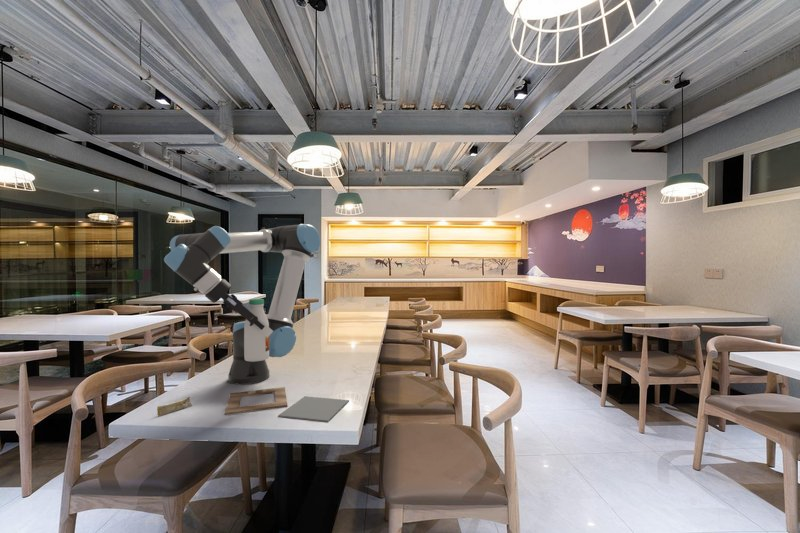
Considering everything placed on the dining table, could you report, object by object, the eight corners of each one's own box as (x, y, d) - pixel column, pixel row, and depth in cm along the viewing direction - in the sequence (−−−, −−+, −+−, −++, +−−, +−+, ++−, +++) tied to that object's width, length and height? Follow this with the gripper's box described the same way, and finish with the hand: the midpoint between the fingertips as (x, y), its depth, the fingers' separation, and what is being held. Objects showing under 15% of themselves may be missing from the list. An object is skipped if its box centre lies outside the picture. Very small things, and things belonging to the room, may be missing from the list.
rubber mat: (304, 397, 121) (304, 396, 121) (348, 401, 117) (348, 400, 117) (278, 416, 105) (278, 415, 105) (328, 421, 101) (328, 420, 101)
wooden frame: (230, 394, 123) (230, 392, 123) (284, 388, 130) (284, 386, 130) (224, 414, 106) (224, 412, 107) (287, 406, 113) (287, 403, 113)
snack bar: (158, 417, 106) (158, 407, 106) (156, 416, 106) (156, 406, 106) (191, 406, 113) (191, 397, 113) (189, 405, 114) (189, 396, 114)
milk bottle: (260, 362, 113) (260, 300, 113) (239, 361, 115) (238, 300, 115) (273, 356, 121) (273, 298, 121) (253, 355, 122) (253, 297, 122)
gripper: (202, 293, 118) (254, 335, 127) (205, 297, 101) (265, 346, 110) (219, 276, 121) (269, 319, 130) (226, 278, 104) (282, 328, 112)
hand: (267, 332), depth 120 cm, fingers closed on milk bottle, 7 cm apart
